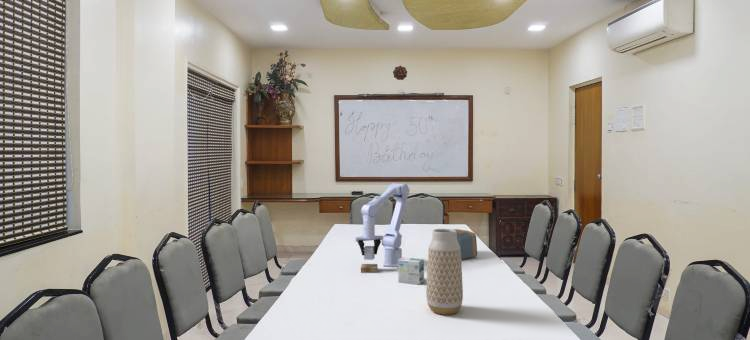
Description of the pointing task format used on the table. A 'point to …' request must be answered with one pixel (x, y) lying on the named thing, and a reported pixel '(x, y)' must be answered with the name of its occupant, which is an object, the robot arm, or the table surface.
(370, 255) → the grey block
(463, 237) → the alarm clock
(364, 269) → the walnut base
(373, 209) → the robot arm
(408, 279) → the light bulb box
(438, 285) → the vase
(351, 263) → the table surface
